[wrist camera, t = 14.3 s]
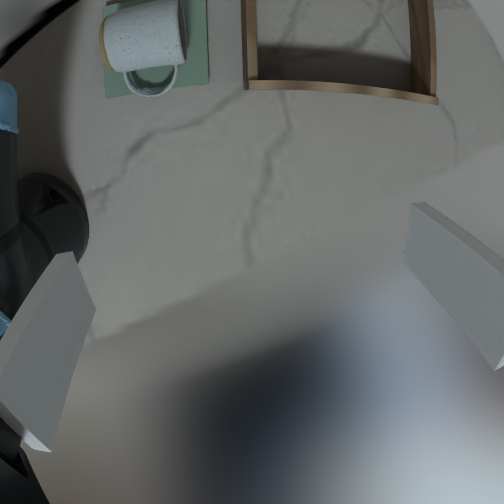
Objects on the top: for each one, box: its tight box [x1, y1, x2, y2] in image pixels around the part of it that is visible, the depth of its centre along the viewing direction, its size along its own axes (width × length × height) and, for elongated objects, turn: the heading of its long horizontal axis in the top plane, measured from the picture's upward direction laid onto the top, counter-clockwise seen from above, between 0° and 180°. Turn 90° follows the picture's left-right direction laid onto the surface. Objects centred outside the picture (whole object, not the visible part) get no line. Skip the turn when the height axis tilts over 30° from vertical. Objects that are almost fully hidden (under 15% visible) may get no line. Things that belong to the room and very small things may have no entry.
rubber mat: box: [103, 0, 209, 98], centre depth 28 cm, size 12×12×1 cm
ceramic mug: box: [99, 0, 187, 97], centre depth 25 cm, size 11×8×8 cm
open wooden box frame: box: [241, 0, 438, 105], centre depth 28 cm, size 24×17×5 cm
